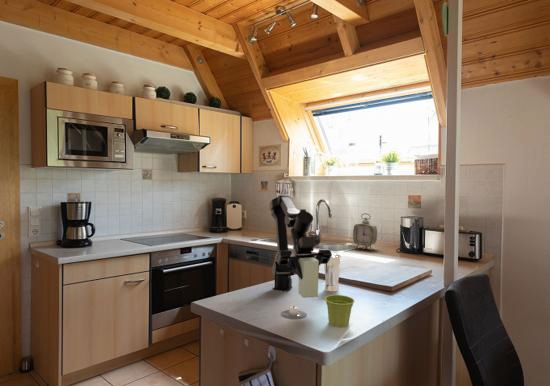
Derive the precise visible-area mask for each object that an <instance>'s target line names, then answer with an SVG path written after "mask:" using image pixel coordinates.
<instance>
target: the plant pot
mask: <svg viewBox="0 0 550 386" xmlns="http://www.w3.org/2000/svg"><path fill="white" fill-rule="evenodd" d="M324 300H325V302H326V303H325V304H326V306H327V307H326V308H327V315H328V316H327V317H328V323H329V325H330V326H332V327H337V328H347V327H348V326H349V324H350V319H351V313H352V308H353V306H354V303H355V299H354V298H353V297H351V296H348V295H343V294H342V295H341V294H331V295H326V296H325V298H324Z"/></svg>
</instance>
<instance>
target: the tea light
mask: <svg viewBox="0 0 550 386" xmlns="http://www.w3.org/2000/svg"><path fill="white" fill-rule="evenodd" d="M288 310H289V315H291V316H297V315H298V310H299V307H298V306H295V305H293V306H290V307H289V309H288Z"/></svg>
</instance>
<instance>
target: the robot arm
mask: <svg viewBox="0 0 550 386" xmlns="http://www.w3.org/2000/svg"><path fill="white" fill-rule="evenodd" d="M291 198H292V197H291V196H290V195H288V194H279V195H278V196H276V197H275V198H273V199H271V201H270V202H269V210H270V214H271V217H272V218H273V219H274V221H275V230H276V231H275V233H276V244H277V245H276V247H277V252H276V255H275V258H274V261H273V265H272V268H271V274H272V275H273V276H274V286H273V287H272V290H276V291H282V292H287V291H289V290H291V289H292V288H293V286H292V283H293V280H292V276H294V275H295V274H296V275H297V276H298V279H299V278H300V279H302V278H303V277H302V272H301V269H300V265H299V258H315V259H317V260H318V261H319V267H318V275H319V273H320V272H319V271H320V266H321V265H324V264H326V263H328V262H329V260H330V258H331V256H332V254H333V253H332V251H331V249H329V248H328V249H327V248H325V249H323V248H321V249H319V250H318V252H317V253H314V252H313V251H314V250H315V249H314V247H316V246H318V245H320V244H321V240H320V236H319V234H317V235H316V234H314V235H313V236H308V234H307V233H308V232H309V231H310V228H311V225H312V223H313V221H314V216H313V215H312V214H311V213H310V212H309V211H307V209H303V208H300V209H297V208H296V206H295V204H294V203H293V201H292V199H291ZM287 228H291V229H290V239H291V241H292V244H293V246H292V250H294V252H292V250H290V249H289V244H288V243H289V242H288V234H287V233H288V231H287ZM312 252H313V253H312Z"/></svg>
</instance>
